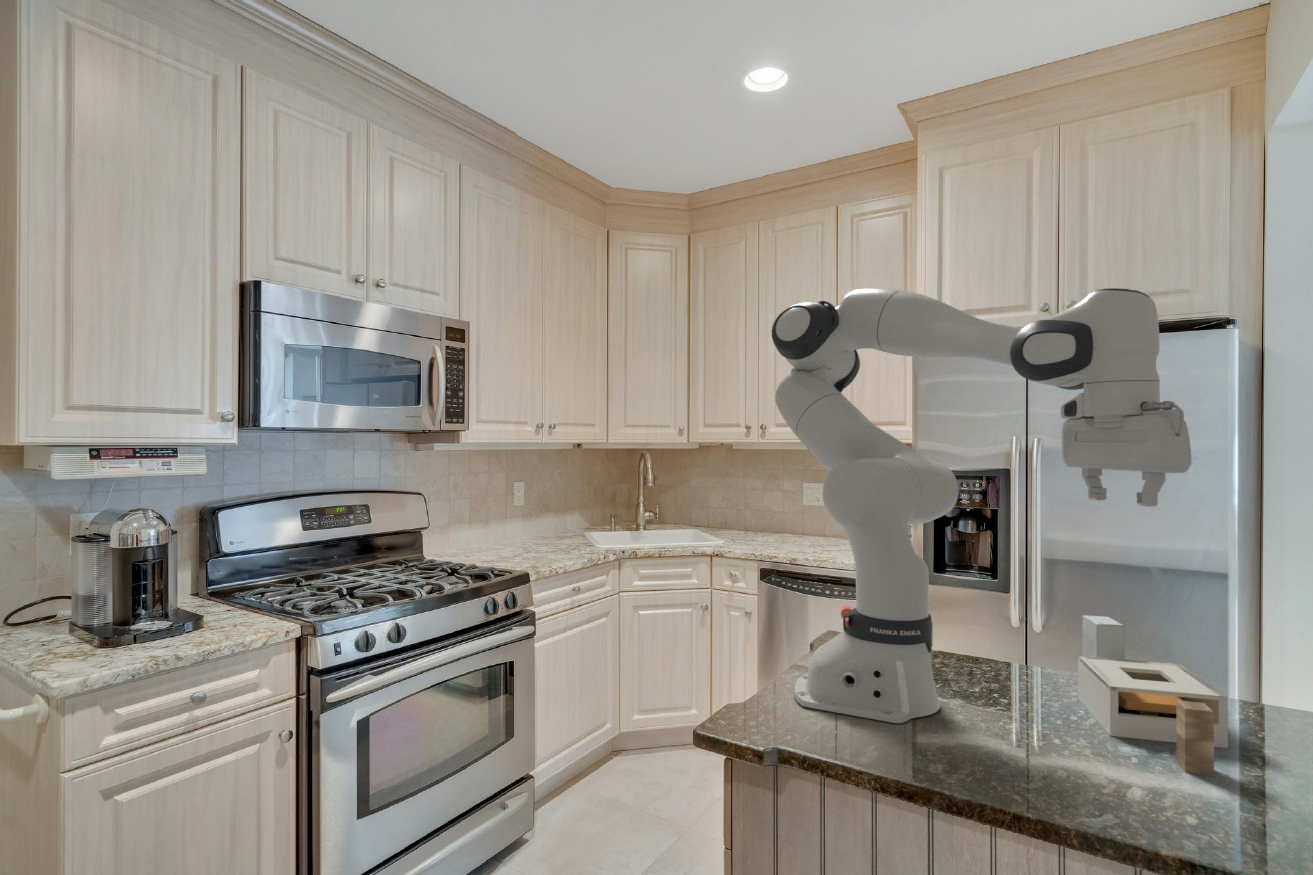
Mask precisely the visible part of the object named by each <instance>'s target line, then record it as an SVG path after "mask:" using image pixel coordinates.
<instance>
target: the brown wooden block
mask: <svg viewBox="0 0 1313 875" xmlns="http://www.w3.org/2000/svg"><path fill="white" fill-rule="evenodd" d="M1175 715H1176V716H1175V718H1176V720H1177V743H1176V762H1177V764H1178V765H1179V766H1180V768H1181V769H1182V770H1183V771H1184V772H1185V773H1190V774H1191V773H1192V774H1198V775H1205V776H1211V777H1215V747H1214V712H1213V711H1212V710H1211V709H1210V708H1209V707H1208V706H1207V705H1206V704H1205V703H1198V702H1189V701H1181V700H1176V714H1175Z"/></svg>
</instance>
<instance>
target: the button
mask: <svg viewBox="0 0 1313 875" xmlns="http://www.w3.org/2000/svg"><path fill="white" fill-rule="evenodd" d="M1176 700H1181V701H1183V700H1182V699H1181V698H1179V697H1177V696H1166V695H1154V694H1143V693H1132V692H1121V691H1118V702H1120V703H1121V704H1122V705H1123V706H1122V707H1123V708H1124V709H1125V710H1132V711H1137V712H1139V714H1140V715H1145V716H1156V717H1159V716H1158V715H1159V714H1158V713H1163V714H1175V715H1176Z"/></svg>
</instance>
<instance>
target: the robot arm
mask: <svg viewBox="0 0 1313 875" xmlns="http://www.w3.org/2000/svg"><path fill="white" fill-rule="evenodd" d="M1158 316H1159V314H1158V310H1157V306H1156V303H1155V301H1154V299H1153V298H1151V297H1150V295H1148V294H1147V293H1144V292H1142V291H1139V290H1136V289H1129V288H1118V287H1117V288H1101V289H1096V290H1092V291H1091V292H1089V293H1088V294H1087V295H1086V296H1085V297H1084V298H1083V299H1081V300H1080V301H1079V302H1077V303H1075V304H1073V305H1072V306H1070V307H1068V308H1067V309H1064V310H1063V311H1061V312H1058V313H1055V314H1053V315H1050V316H1048V317H1044V318H1042V319H1038V320H1034V321H1032V322H1030V323H1028V324H1026V325H1025V326H1023V327H1019V326H1011V325H1008V324H1007V325H1005V324H1000V323H996V322H991V321H987V320H984V319H981V318H978V317H976V316H973V315H971V314H969V313H966V312H964V311H962V310H960V309H958V308H957V307H954V306H952V305H949V304H947V303H945V302H943V301H942V300H941V301H940V300H938V299H935V298H933V297H930V296H927V295H924V294H920V293H917V292H913V291H909V290H901V289H896V288H895V289H892V288H879V287H878V288H875V287H874V288H872V287H871V288H870V287H869V288H857V289H854V290H852V291H850V292H848V293H847V294H845V295H844V297H843V298H842V299H841V301H840V302H839V304H838V305H837V306H835V305H833V304H832V303H831V302H829V301H826V300H820V301H817V302H801V303H797V304H793V305H791V306H789V307H787V308H785V309H784V310H783V311H781V312H780V313H779V314H778V315H777V317H776V318H775V319H774V322H773V324H772V326H771V338H772V342H773V344H774V346H775V348H776V350H777V351H778V353H779V354H780V355H781V356H782V357H784V358H785V359H786V361H787V362H788V363H789V364H790V365H791V366H792V367H793V368H791V370H790V373H789V374H788V375H787V376H785V377H784V378H783V379H782V380H781V381H780V383H779V384H778V386H777V388H776V391H775V395H774V396H775V397H774V400H775V404H776V407H777V409H778V410H779V413H780V415H781V416H782V419H783V420H784V421H785V423H786V424H787V425H788V428H789V429H790V430H791V432H792V433H793V434H794V435H795V436H796V438H798V440H799V441H800V442H801V443H802V444H803V445H804V447H806V449H807V450H808V451H809V452H810V453H811V455H813V457H814V458H815V459H816V460H817V462H818V463H820V464H821V466H823V467H824V468H825V469H827V470H828V471H829V473H828V474H827V475H826V478H825V479H824V482H823V487H822V500H823V504H824V507H825V509H826V512H827V513H828V515H829V516H830V517H831V519H832V520H833V521H835V522H836V523H837V524H838V525H839V526H840V528H841V529H842V531H843V532H844V533H845V536H846V538H847V540H848V543H849V545H850V549H851V552H852V556H853V561H854V569H855V591H856V593H855V602H856V603H855V605H856V606H855V608H853V609H852V607H850V606H849V605H845V606H843V607H842V608H841V609H840V610H841V611H840V616H841V618H842V622H843V623H842V628H843V630H842V632H840V633H839V634H837V635H836V636H834V637H832V638H831V639H830V640H828V641H827V642H824V644H822V645H821V646H819V647H818V648H816V650H815V651H814V652H813V654H812V656H811V658H810V661H809V665H808V670H807V673H805V674H803V675H801V676H800V677H798V678H797V680H796V681H795V683H794V690H793V695H794V699H795V700H796V702H797V703H798V704H799V705H800V706H802V707H805V708H810V709H815V710H821V711H826V712H832V713H838V714H841V715H842V714H843V715H846V716H847V715H848V716H854V717H859V718H865V719H870V720H875V721H880V722H881V721H882V722H887V723H893V724H902V723H903V724H904V723H905V722H907V721H910V720H911V719H915V718H923V717H926V716H929V715H933V714H935V713H937V712H938V711H939V710H940V708H941V702H940V700H939V696H938V693H937V688H936V685H935V679H934V674H933V666H932V658H931V657H932V656H931V652H932V650H933V644H934V640H933V638H934V633H933V632H934V630H933V629H934V626H933V620H932V616H931V614H930V613H929V612H930V602H929V601H930V584H929V583H930V581H929V580H930V577H929V576H930V571H929V567H928V565H927V563H926V561H925V560H924V559H923V558H922V557H921V556H920V555H918V554H917V553H916V551H915V549H914V547H913V544H912V540H911V537H910V534H909V526H910V525H919V524H920V525H921V524H927V523H930V522H933V521H934V520H936V519H939V518H942V517H943V516H946V515H947V514H949V513H950V512H951V511H952V510H953V509H954V507H955V505H956V503H957V500H958V498H959V484H958V481H957V478H956V475H955V474H954V473H953V471H952V470H951V469H950V468H949V467H948V466H946V465H945V464H943V463H941V462H939V461H936V460H933V459H931V458H929V457H927V456H925V455H923V454H921V453H919V452H917V451H916V450H915V449H913V448H911V447H910V446H908V445H907V444H906V443H904V442H902V441H900V440H899V439H897V438H896V437H895V436H892V435H891V434H889V433H888V432H886V431H885V430H883V429H882V428H880V427H879V426H877V425H876V424H874V423H873V422H872V421H871V420H869V419H868V418H867V416H865V415H864V413H862V412H861V411H860V410H859V409H858V408H857V407H856V406H855V405H854V404H853V403H852V402H851V401H850V400H849V399H847V397H846V396H845V395H844V394H842V392H843V390H845V389H846V388H847V387H848V386H849V385H850V384H851V383H852V382H853V381H854V380H855V378H857V377H856V376H857V375H858V373H859V371H860V367H861V360H860V356H859V353H858V351H857V350H861V349H873V350H876V351H879V352H883V353H887V354H892V355H896V356H897V355H898V356H903V357H904V356H905V357H917V358H918V357H920V358H921V357H923V358H941V357H944V358H946V357H947V358H948V357H949V358H951V357H952V358H957V357H958V358H974V359H979V360H980V359H981V360H986V361H991V362H995V363H1000V364H1005V365H1010V366H1012V367H1013V369H1014V370H1015V371H1016V372H1017V374H1018V375H1020V376H1021V377H1023V378H1024V379H1026V380H1027V381H1031V382H1034V383H1037V384H1042V385H1047V386H1054V387H1056V388H1061V389H1062V390H1068V391H1077V390H1082V389H1083V392H1080V393H1079V394H1077V395H1076V396H1074V397H1073V398H1071V399H1070V400H1069V401H1067V402H1064V403H1063V404H1062V405H1061V407H1060V416H1061V418H1062V419H1066V420H1065V421H1064V423H1063V424H1062V428H1061V456H1062V460H1063V462H1064V464H1065V466H1066V467H1067V468H1078V469H1079V468H1081V476H1082V478H1083V481H1084V483H1085V485H1086V487H1087V493H1088V494H1087V495H1088V496H1087V497H1088V499H1089V500H1094V501H1105V500H1107V492H1108V491H1107V489H1108V488H1106V487H1103V484H1102V480H1101V478H1100V477H1102V476H1103V470H1110V471H1111V470H1112V471H1113V470H1114V471H1129V472H1130V471H1131V472H1141V480H1142V481H1144V484H1143V486H1142V489H1141V492H1139V491H1138V492H1137V491H1136V504H1137V505H1138V506H1141V507H1151V508H1152V507H1157V506H1158V502H1159V501H1158V499H1159V495H1158V494H1159V493H1160V492H1161V490H1162V487H1163V486H1164V484H1165V482H1166V474H1182V473H1183V474H1185V473H1187V471H1188V470H1189V469H1190V467H1191V466H1192V449H1191V448H1192V447H1191V440H1190V434H1189V428H1188V425H1187V422H1186V421H1185V413H1184V411H1183V409H1182V408H1181V407H1180V406H1179V405H1177V404H1176V403H1175V401H1173V400H1164V401H1160V400H1161V398H1160V397H1161V393H1160V392H1161V390H1160V389H1161V388H1160V387H1161V384H1160V383H1161V381H1160V376H1159V373H1158V369H1157V359H1158V356H1159V354H1160V345H1161V344H1160V327H1159V326H1160V324H1159V317H1158Z"/></svg>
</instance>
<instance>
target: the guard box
mask: <svg viewBox="0 0 1313 875" xmlns="http://www.w3.org/2000/svg"><path fill="white" fill-rule="evenodd" d="M1077 658H1078V666H1077V667H1078V672H1077V674H1078V675H1077V676H1078V677H1077V678H1078V694H1077V696H1078V699H1077V700H1078V701H1079V702H1080V703H1081V705H1083V706H1084V708H1085V709H1086V710H1087V711H1088V712H1089V713H1090V715H1091V716H1092V717H1093V718H1094V719H1095V720H1096V721H1097V722H1098V724H1099V725H1100V726H1101V727H1102V728H1103V729H1104V730H1105V732H1106V733H1107V734H1108V735H1109V736H1110V737H1119V738H1127V739H1136V740H1137V739H1138V740H1147V741H1157V742H1165V743H1167V742H1168V743H1176V744H1177V720H1176V717H1175V718H1173V717H1163V716H1152V715H1142V714H1134V713H1124V712H1123V713H1122V712H1119V706H1121V707H1124V706H1123V705H1122V704H1121V703H1120V702H1118V691H1121V692H1132V693H1143V694H1154V695H1166V696H1177V697H1179V698H1181V699H1182V700H1183V701H1189V702H1198V703H1205V704H1206V705H1207V706H1208V707H1209V708H1210V709H1211V710H1212V711H1213V712H1214V748H1222V749H1229V696H1228V695H1226V694H1224V692H1222V691H1220V690H1219V689H1217V688H1216V687H1215V686H1212V684H1210V683H1209V682H1207V681H1206V680H1204V679H1203V678H1201V677H1200V676H1198V675H1196V674H1195V673H1194V672H1192V671H1191V670H1190V669H1188V668H1186V667H1185V666H1183V665H1182V664H1181V663H1170V662H1160V661H1159V662H1158V661H1157V662H1156V661H1143V660H1134V659H1133V660H1132V659H1124V660H1121V659H1108V658H1096V657H1083V656H1080V655H1078V656H1077Z"/></svg>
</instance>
